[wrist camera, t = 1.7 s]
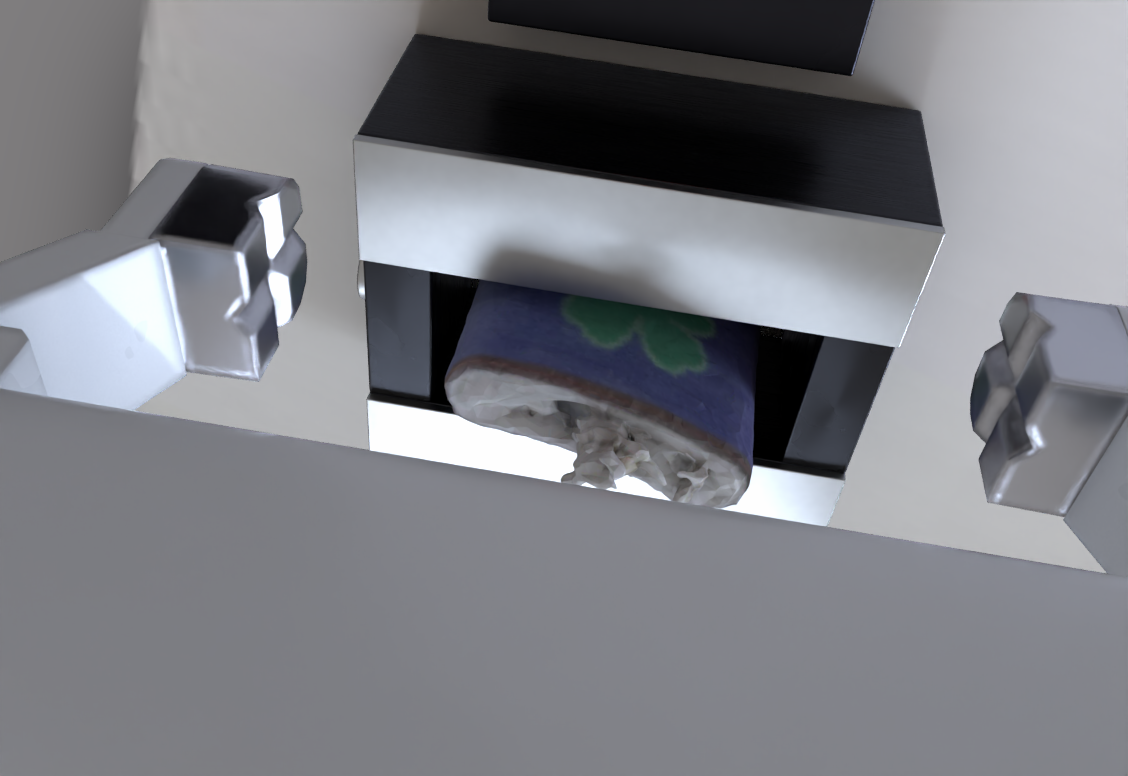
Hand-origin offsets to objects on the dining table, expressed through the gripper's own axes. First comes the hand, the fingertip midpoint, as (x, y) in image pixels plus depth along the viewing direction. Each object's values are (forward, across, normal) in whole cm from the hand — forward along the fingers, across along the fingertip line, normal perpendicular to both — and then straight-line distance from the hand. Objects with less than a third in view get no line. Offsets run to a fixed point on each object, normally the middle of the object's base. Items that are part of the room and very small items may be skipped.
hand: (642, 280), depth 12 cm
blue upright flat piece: (+20, 0, +13) cm, 24 cm away
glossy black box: (+20, 0, +13) cm, 24 cm away
